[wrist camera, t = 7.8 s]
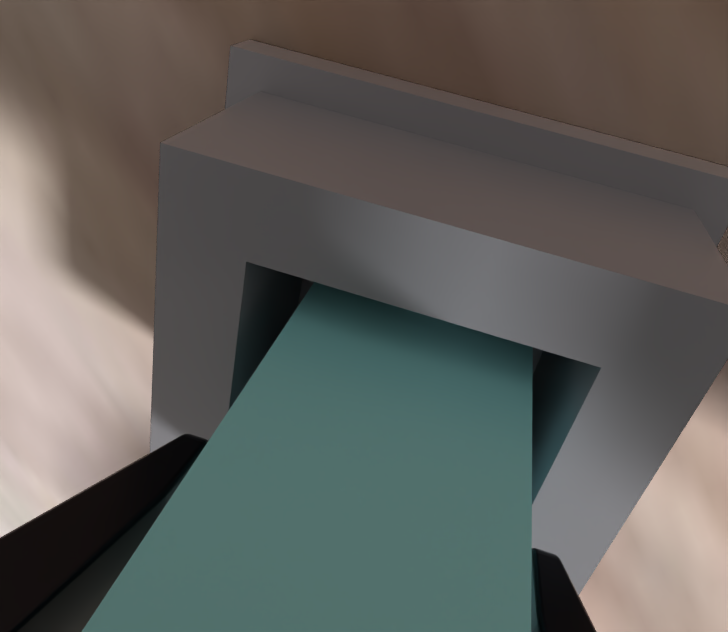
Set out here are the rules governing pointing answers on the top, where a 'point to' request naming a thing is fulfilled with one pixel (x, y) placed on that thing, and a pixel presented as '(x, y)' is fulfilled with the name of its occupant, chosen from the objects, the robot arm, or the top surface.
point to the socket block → (448, 263)
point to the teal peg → (351, 488)
